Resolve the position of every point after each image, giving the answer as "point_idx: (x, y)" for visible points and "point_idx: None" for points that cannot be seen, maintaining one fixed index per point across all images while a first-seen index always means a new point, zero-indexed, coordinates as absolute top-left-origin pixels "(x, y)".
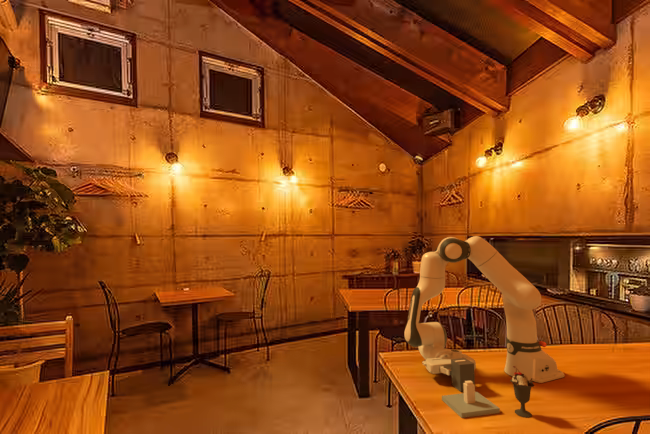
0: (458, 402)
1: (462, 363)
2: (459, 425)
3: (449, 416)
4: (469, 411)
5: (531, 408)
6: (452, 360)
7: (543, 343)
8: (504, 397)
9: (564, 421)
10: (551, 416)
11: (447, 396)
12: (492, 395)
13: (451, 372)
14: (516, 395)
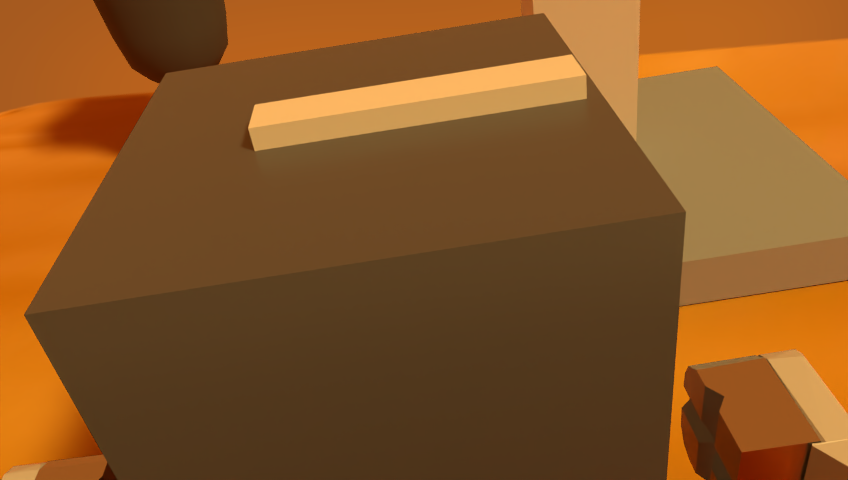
0: (705, 150)
1: (435, 53)
2: (749, 59)
3: (815, 106)
4: (642, 81)
5: (81, 204)
6: (643, 167)
7: None
8: None
9: (62, 127)
10: (70, 151)
11: (820, 221)
12: None
13: (692, 387)
14: (224, 14)
